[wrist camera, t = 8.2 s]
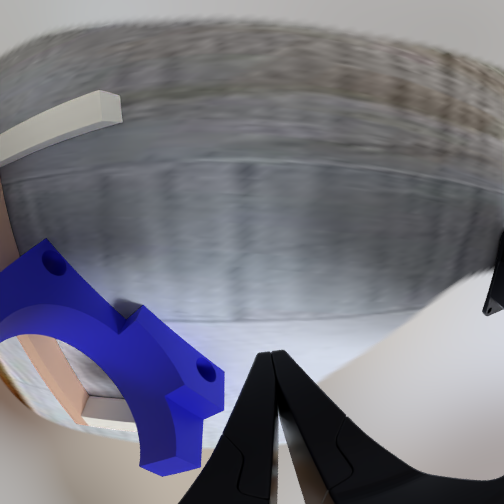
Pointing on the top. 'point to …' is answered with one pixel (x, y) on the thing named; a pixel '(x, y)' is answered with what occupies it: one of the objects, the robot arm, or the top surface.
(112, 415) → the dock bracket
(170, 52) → the top surface
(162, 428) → the blue half clamp
